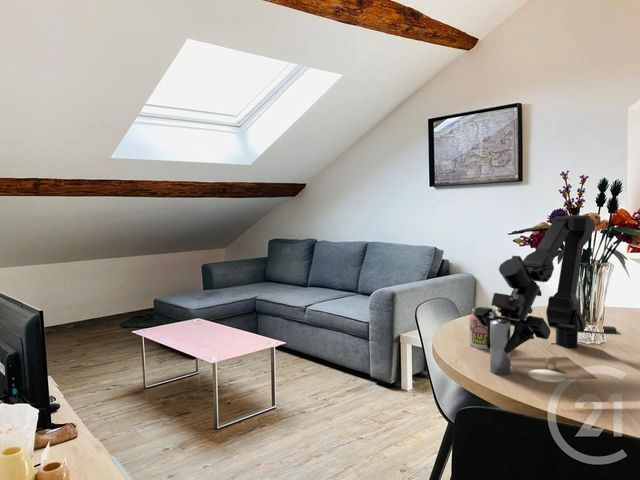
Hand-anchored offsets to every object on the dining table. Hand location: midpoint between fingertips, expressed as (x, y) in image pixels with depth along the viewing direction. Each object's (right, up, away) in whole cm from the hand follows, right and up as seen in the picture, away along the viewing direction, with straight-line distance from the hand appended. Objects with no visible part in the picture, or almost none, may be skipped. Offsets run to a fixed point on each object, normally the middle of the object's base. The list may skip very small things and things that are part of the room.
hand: (497, 350), depth 123 cm
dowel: (+14, -5, +2) cm, 15 cm away
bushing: (+1, -7, +1) cm, 7 cm away
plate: (+14, -6, +3) cm, 16 cm away
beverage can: (+5, -5, +23) cm, 24 cm away
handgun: (+44, -3, +43) cm, 61 cm away
